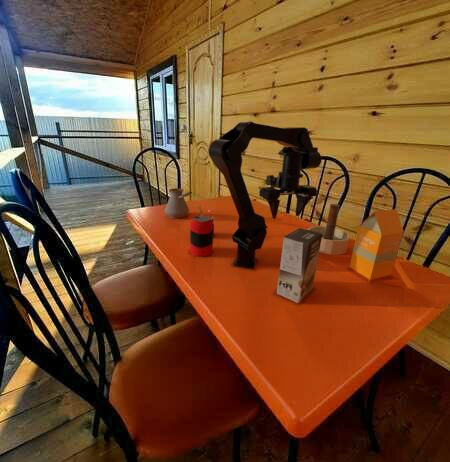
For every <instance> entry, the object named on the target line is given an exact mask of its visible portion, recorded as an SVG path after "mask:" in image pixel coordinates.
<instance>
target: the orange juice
mask: <svg viewBox="0 0 450 462" xmlns="http://www.w3.org/2000/svg"><path fill="white" fill-rule="evenodd" d="M404 233H405V231H404V228H403V224H402V223H401V219H400V216H399V213H398V210H397V208H394V209H393V208H392V209H383V210H375V211H373V212H372V213H371V214H370V215H369V216H368V217H367V218H366V219H365V220H364V221H362V222H361V223H360V224H359V225H358V227H357V232H356V236H355V240H354V244H353V248H352V253H351V258H350V263H349V268H351V269H352V270H354V272H357V273H358V274H360V275H361V276H363V277H365V278H367V279H366V281H367V282H369V283H370V282H372V280H374V279H375V280H376V279H380V278H385V277H388V276H392V274H393V271H394V267H395V263H396V261H397V258H398V254H399V250H400V247H401V243H402V240H403V236H404Z"/></svg>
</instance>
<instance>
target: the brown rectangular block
mask: <svg viewBox="0 0 450 462" xmlns="http://www.w3.org/2000/svg"><path fill="white" fill-rule="evenodd" d="M339 211H340V204H337V203H330V204H329V210H328V215H327V221H326V225H325V226H326V231H325V237H324V239H328V240H333V237H334V232H335V228H337V227H336V226H337V221H338V216H339Z"/></svg>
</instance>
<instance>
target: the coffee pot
mask: <svg viewBox="0 0 450 462" xmlns="http://www.w3.org/2000/svg"><path fill="white" fill-rule="evenodd" d="M168 191H169V192H170V195H169V199H168V201H167V203H166V206H165V208H164V212H165V214H166V215H167V216H168V217H169V218H172V219H182V218H185V217H186V216H187V215H188V214H189V212H190V209H189V205H188V204H187V201H186V199H185V197H188V196H189V197H191V198H192V197H194V196H195V193H194V192H192V191H188V192H185V193H184V189H183V188H178V187H176V188H169V190H168ZM183 193H184V194H183ZM191 194H193V195H191Z"/></svg>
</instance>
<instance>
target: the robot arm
mask: <svg viewBox="0 0 450 462" xmlns="http://www.w3.org/2000/svg"><path fill="white" fill-rule="evenodd" d="M310 136H311V135H310V133H309V129H308V128H307V127H301V126H300V127H298V126H295V127H293V126H288V127H278V126H273V125H267V124H261V123H258V122H257V123H256V122H254V121H252V120H250V121H249V120H248V121H240V122H238V123H237V124H236V125H235V126H234V127H232V128H231V129H230V130H229V131H227V132H225V133H223V134H222V135H221V136H220V137H219V138H218V139H214V140H213V141H212V142H210V145H209V147H208V151H207V152H208V155H209V158H210V159H211V161H212V163H213V164H214V166H215V167H216V168H217V170H218V171H219V172H220V173H221V174H222V176H223V178H224V180H225V183H226V187H227V188H228V191H229V193H230V196H231V199H232V201H233V204H234V208H235V209H236V212H237V215H238V220H237V227H238V228H237V229H236V230H235V232H234V233H233V234H232V235H231V239H232V242H233V243H235V244H237V245H236V247H237V248H236V258H235V260H234V261H233V264H232V265H233V266H235V267H240V268H245V269H251V270H254V269H255V266H256V265H257V262H258V257H257V258H256V252H257V251H258V250H261V249H262V246H263V244H264V242H265V239H266V237H267V234H268V231H267V230H268V225H267V224H266V219H265V217H264V216H263V215H261V214H258V213H256V212H255V209H254V206H253V203H252V200H251V197H250V194H249V191H248V188H247V186H246V183H245V179H244V176H243V173H242V165H243V156H242V154H243V153H244V152H245V151H246V150H247V149H248V147H249V145H250V142H251V141H252V140H253V139H257V140H265V141H271V142H275V143H277V144H279V145H282V146H283V148H282V149H280V150H279V152H278V155H279V156H283V157H282V165H281V166H282V167H281V171H279V172H278V176H274V174H269V175H266V178H265V185H266V186H262V187H261V188H260V189H259V192H258V193H259V195H258V196H259V197H261V198H262V199H263V200H265V201H266V202H267V203H268V206H269V211H270V213H271V218H272V219H274V220H276V218H277V216H278V212H279V207H280V203H281V200H280V197H281V196H289V195H295V198H296V205H295V216H296V217H300V215H301V213H302V212H303V211H304V209H306V207H307V205H308V204H309V202H310V201H311V200H313V199H314V197H317V194H318V189H317V187H316V186H313V185H309V184H300V180H301V179H303V178H304V174H303V173H301V171H302V170H311V169H318V168H319V167H320V166H321V164H322V160H323V159H322V155H321V153H320V152H319V151H318V150H319V147H315V146H313V145H314V144H313V142H312V139H311V137H310Z"/></svg>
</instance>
